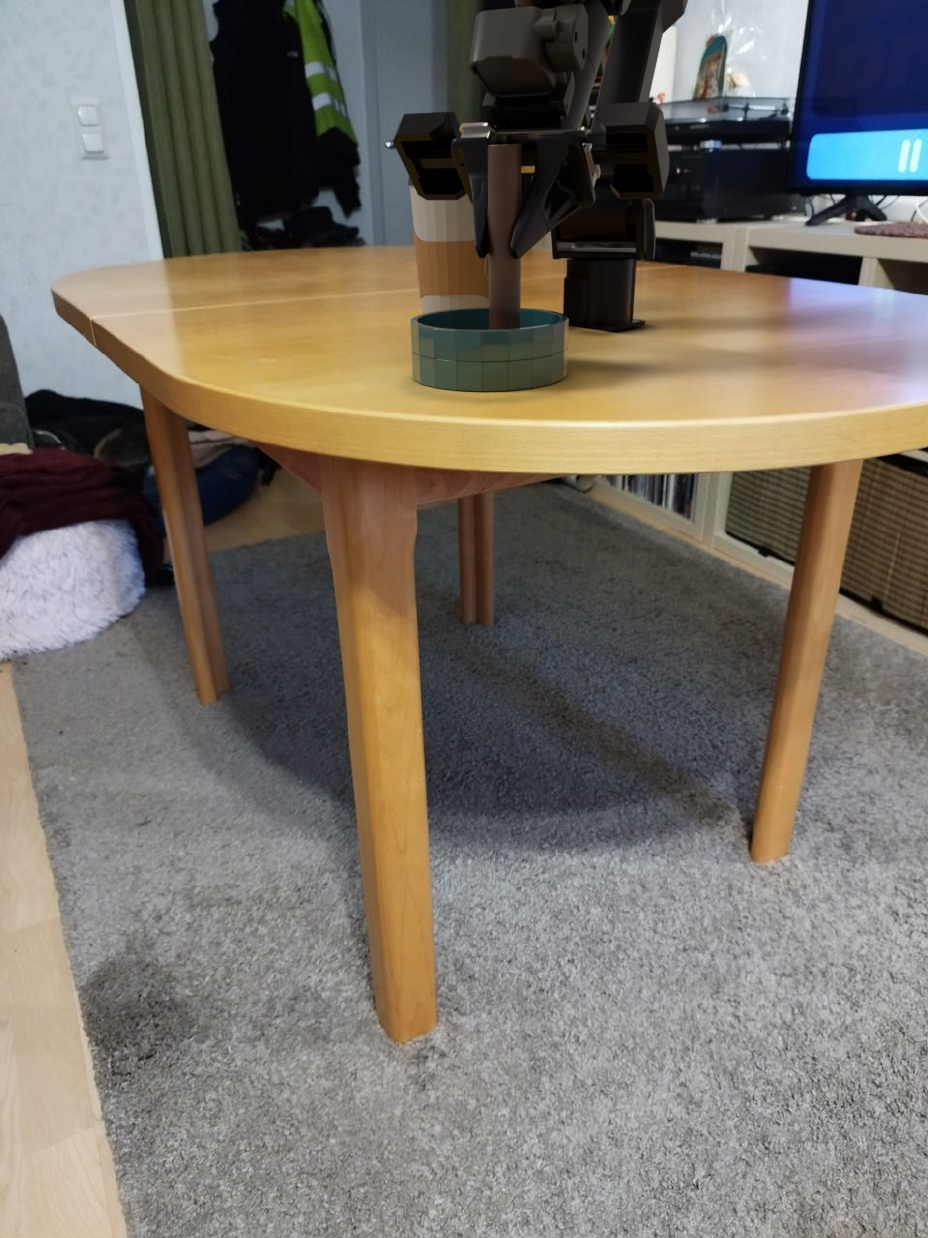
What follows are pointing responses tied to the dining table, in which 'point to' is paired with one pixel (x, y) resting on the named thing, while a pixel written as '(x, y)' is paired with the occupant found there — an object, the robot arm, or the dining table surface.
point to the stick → (503, 235)
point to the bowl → (488, 350)
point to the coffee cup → (448, 255)
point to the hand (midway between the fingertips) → (496, 254)
